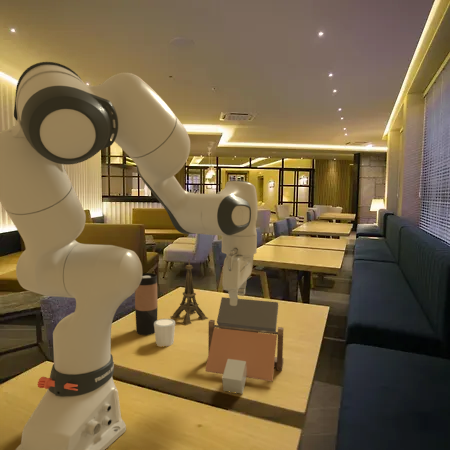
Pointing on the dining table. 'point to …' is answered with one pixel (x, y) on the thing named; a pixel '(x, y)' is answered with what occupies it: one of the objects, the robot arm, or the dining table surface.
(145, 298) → the travel mug
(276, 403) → the dining table surface
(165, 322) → the shot glass
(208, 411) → the dining table surface
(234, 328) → the frame
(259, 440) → the dining table surface
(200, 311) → the eiffel tower
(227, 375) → the grey block
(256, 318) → the trapdoor
